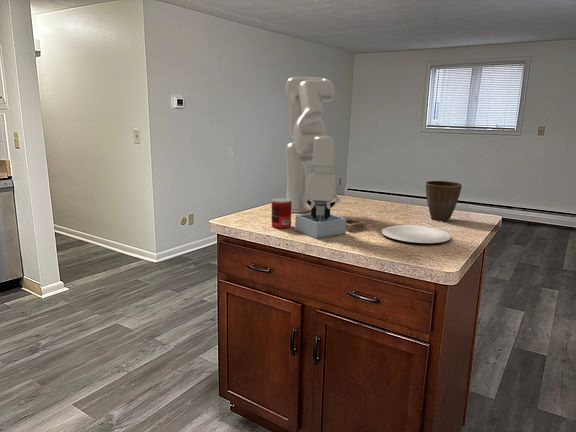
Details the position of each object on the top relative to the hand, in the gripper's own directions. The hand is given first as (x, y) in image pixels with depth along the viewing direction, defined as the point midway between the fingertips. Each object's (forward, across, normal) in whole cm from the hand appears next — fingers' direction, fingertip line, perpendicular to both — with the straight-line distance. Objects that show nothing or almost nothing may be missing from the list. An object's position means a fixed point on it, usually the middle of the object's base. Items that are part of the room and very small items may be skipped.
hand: (320, 217), depth 168 cm
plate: (+6, +35, +4) cm, 36 cm away
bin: (+6, 0, 0) cm, 6 cm away
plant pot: (+6, +48, +37) cm, 61 cm away
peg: (+3, 0, 0) cm, 3 cm away
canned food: (+6, -16, +5) cm, 18 cm away
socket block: (+6, +11, +10) cm, 16 cm away
